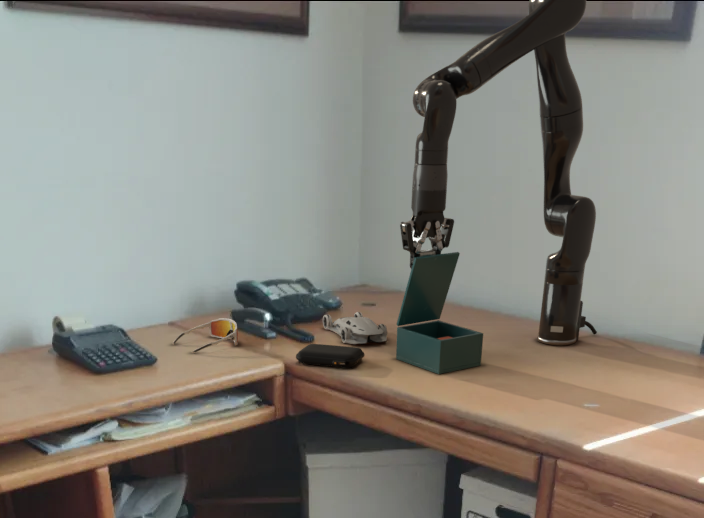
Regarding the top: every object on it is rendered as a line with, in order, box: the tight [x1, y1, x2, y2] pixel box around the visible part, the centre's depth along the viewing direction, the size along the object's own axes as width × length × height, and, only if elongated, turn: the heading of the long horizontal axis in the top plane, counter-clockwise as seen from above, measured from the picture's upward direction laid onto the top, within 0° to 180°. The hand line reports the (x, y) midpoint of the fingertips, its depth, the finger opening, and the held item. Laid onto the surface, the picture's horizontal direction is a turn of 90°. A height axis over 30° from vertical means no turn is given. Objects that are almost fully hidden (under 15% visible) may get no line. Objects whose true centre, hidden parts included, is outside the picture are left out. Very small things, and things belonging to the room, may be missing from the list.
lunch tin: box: [395, 319, 484, 375], centre depth 216 cm, size 16×13×7 cm
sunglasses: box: [172, 317, 239, 354], centre depth 231 cm, size 14×15×5 cm
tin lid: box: [396, 248, 461, 327], centre depth 214 cm, size 16×13×5 cm
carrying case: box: [295, 343, 366, 369], centre depth 217 cm, size 11×3×15 cm
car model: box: [322, 311, 388, 345], centre depth 238 cm, size 11×24×5 cm, turn 21°
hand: (424, 269), depth 212 cm, fingers closed on tin lid, 5 cm apart
